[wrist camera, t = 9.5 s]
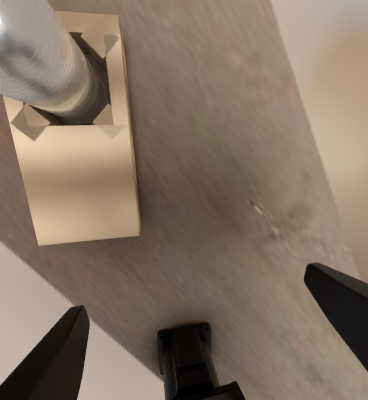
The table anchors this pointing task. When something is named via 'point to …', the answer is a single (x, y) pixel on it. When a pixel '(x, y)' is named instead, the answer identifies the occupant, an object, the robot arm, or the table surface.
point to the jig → (81, 151)
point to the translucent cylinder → (46, 63)
